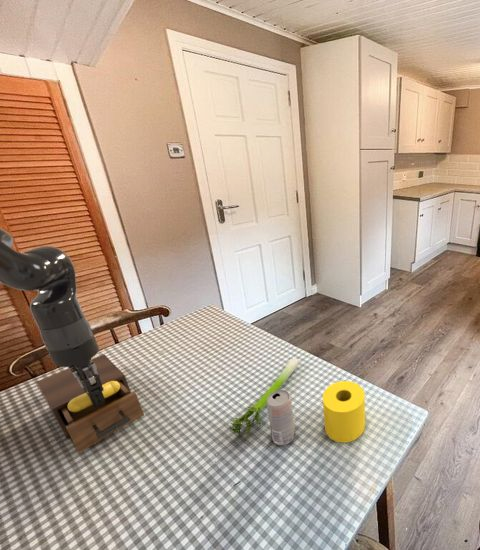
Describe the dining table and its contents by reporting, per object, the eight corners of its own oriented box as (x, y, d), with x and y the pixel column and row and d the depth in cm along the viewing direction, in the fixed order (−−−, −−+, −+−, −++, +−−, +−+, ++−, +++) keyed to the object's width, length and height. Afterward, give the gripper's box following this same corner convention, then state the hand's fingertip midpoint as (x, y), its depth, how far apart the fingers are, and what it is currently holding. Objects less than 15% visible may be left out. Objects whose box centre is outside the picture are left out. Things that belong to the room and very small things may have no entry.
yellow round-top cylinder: (72, 417, 67) (66, 404, 66) (69, 412, 69) (63, 400, 68) (123, 391, 74) (118, 380, 73) (119, 387, 76) (115, 376, 75)
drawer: (152, 424, 75) (143, 401, 72) (85, 464, 65) (73, 440, 62) (123, 391, 85) (114, 370, 83) (61, 422, 76) (50, 399, 73)
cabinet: (134, 401, 83) (124, 375, 79) (66, 438, 72) (51, 409, 69) (114, 379, 91) (104, 354, 88) (50, 408, 81) (36, 381, 77)
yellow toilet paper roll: (317, 434, 73) (314, 404, 69) (336, 404, 82) (334, 376, 78) (355, 448, 69) (354, 417, 66) (370, 415, 78) (370, 386, 75)
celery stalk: (305, 370, 97) (251, 446, 69) (285, 369, 99) (225, 444, 71) (302, 353, 95) (245, 424, 68) (282, 353, 97) (219, 422, 69)
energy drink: (288, 423, 76) (282, 385, 72) (299, 436, 72) (295, 397, 68) (268, 436, 73) (261, 397, 68) (279, 450, 69) (273, 411, 64)
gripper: (38, 336, 66) (68, 397, 73) (54, 360, 59) (86, 425, 65) (82, 322, 72) (106, 379, 78) (102, 341, 64) (127, 403, 71)
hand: (97, 400), depth 72 cm, fingers closed on yellow round-top cylinder, 3 cm apart
